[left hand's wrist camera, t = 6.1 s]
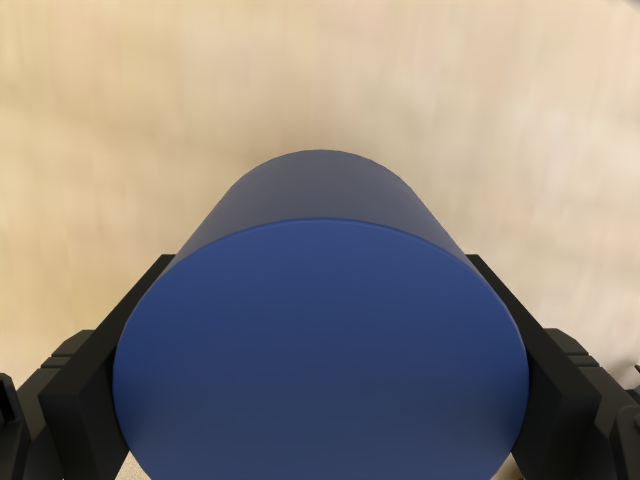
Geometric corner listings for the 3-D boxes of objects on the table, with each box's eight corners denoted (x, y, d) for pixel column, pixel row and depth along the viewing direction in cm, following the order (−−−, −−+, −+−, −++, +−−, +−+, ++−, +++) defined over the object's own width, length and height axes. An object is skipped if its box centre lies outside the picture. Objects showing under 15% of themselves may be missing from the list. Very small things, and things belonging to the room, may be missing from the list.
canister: (486, 248, 16) (620, 386, 9) (337, 396, 18) (348, 593, 11) (297, 93, 14) (274, 111, 7) (159, 284, 16) (39, 440, 9)
